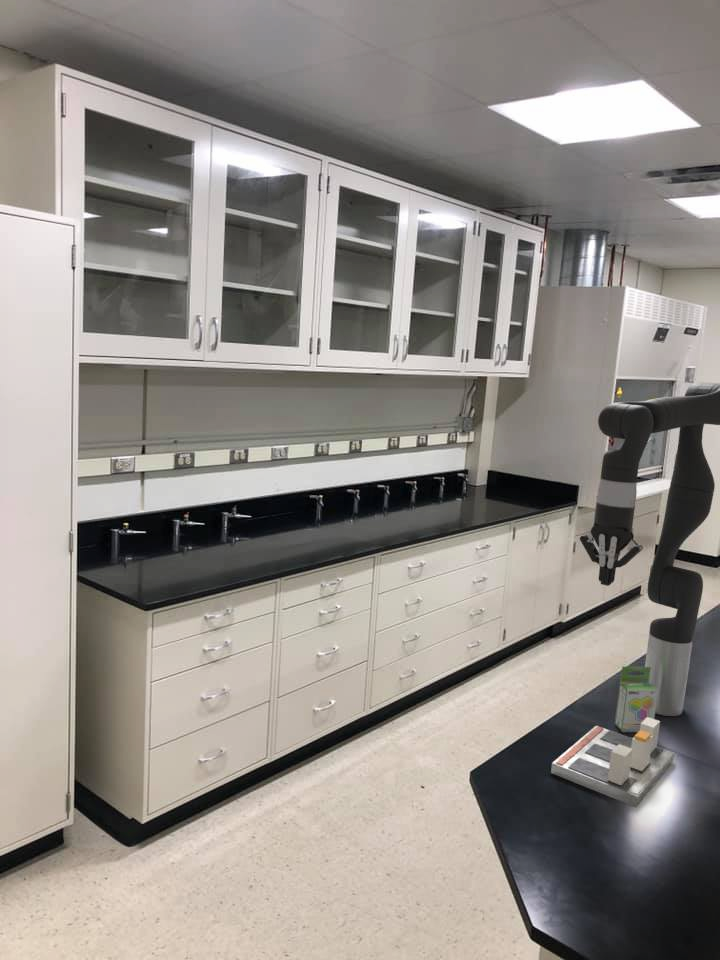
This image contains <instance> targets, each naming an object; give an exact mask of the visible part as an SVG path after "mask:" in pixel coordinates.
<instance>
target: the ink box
mask: <svg viewBox="0 0 720 960" xmlns="http://www.w3.org/2000/svg"><path fill="white" fill-rule="evenodd" d="M650 670H651V667H645V666H625V665H624V666H622V667H621V674H620V681H619V689H618V694H617V695H618V696H617V704H616V711H615V718H614V725H615V726H616V727H617V728H618V729H619V731H621V732H622V733H638V732H639V731H640V725H641V723H642V722H643V721H644V720H645V719H646V718H647V717H649V718H652V719H655V717H656V713H655V709H656V701H657V693H658V690H657V689H656V688H655V687H654V686H653V685H652V684H650V683H649V676H650ZM636 671H637V672H641V673H642V675H639V674H638V675H637V674H635V675H634V674H633V675H632V674H630V675H629V673H631V672H636Z"/></svg>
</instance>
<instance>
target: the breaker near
mask: <svg viewBox="0 0 720 960" xmlns="http://www.w3.org/2000/svg"><path fill="white" fill-rule="evenodd" d="M632 751H633V749H631V748H629V747H626V746H623V745H620V744H619V745H618V746H617V747H616V748H615V749H614V750H613V751H611V758H610V766H609V774H608V780H609V781H611V782H614V783H616V784H619V785H622V784H623V783H624V782H625V781H626V780H627V779H628V778H629V774H630V766H631V759H632Z"/></svg>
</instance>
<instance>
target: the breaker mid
mask: <svg viewBox="0 0 720 960" xmlns="http://www.w3.org/2000/svg"><path fill="white" fill-rule="evenodd" d="M632 738H633V739H632V745H631V749H633V751H632V759H631V766H630V767H632V768H634V769H637V770H640V771H643V770H644V769H645V767H646V766H647V765H648V764H649V760H650V752H651V745H652V738H653V736H651V733H648V732H645V731H642V730H640V731H639V732H636V734H635V735H634V737H632Z"/></svg>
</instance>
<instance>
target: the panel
mask: <svg viewBox="0 0 720 960" xmlns="http://www.w3.org/2000/svg"><path fill="white" fill-rule="evenodd" d="M633 738H634V737H630V736H628V735H624V734H622V733H618V732H616V731H613V730H611V729H607V728H605V727H601V726H599V725H595V726H593V727H592V728H591V729H590V730H589V731H588V732H587V733H585V735H583V736H582V737H581V738H579V740H577V741H576V742H575V743H574V744H573V745H571V746H570V747H569V748H568V749H567V750H566V751H565V752H563V753H562V754H561V755H560V756H558V757H557V758H556V759H554V761H552V762H551V770H550V774H553V775H555V776H558V777H560V778H562V779H564V780H567V781H570V782H573V783H574V784H578V785H580V786H582V787H585V788H586V789H589V790H593V791H595V792H597V793H600V794H602V795H605V796H607V797H609V798H612V799H614V800H617V801H618V802H622V803H624V804H627V805H629V806H631V807H635V808H637V807H638V806H639V804H640V803H641V802H642V801H643V800H644V798H646V796H647V795H648V793H650V792H651V790H652V788H654V787H655V785H656V784H657V783H658V782H659V781H660V779H661V778H662V777H663V776H664V775H665V773H666V772H667V771H668V770H669V768H670V767H671V766H672V765H673V764H674V759H675V752H673V751H670V750H667V749H664V748H661V747H659V746H657V747H656V748H655V749H654V751H653V752H652V753H651V754H650V760H649V764H648V765H647V766H646V767H645V769H644V770H643V771H640V770H637V769H634V768H632V767H630V774H629V778H628V779H627V780H626V781H625V782H624V783H623V784H622V785H619V784H616V783H614V782H611V781H609V780H608V774H609V766H610V758H611V751H613V750H614V749H615V748H616V747H617V746H618V745H619V744H620V745H623V746H626V747H629V748H631V745H632V739H633Z"/></svg>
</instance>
